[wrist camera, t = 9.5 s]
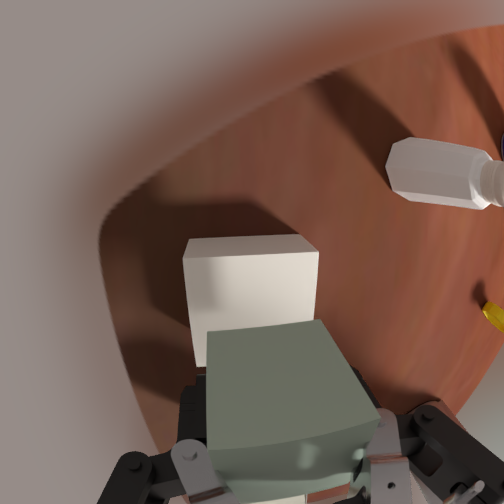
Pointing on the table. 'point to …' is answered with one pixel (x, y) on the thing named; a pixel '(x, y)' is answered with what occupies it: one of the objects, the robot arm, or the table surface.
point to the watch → (494, 315)
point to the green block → (283, 411)
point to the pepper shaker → (445, 174)
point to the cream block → (248, 283)
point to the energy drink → (502, 147)
